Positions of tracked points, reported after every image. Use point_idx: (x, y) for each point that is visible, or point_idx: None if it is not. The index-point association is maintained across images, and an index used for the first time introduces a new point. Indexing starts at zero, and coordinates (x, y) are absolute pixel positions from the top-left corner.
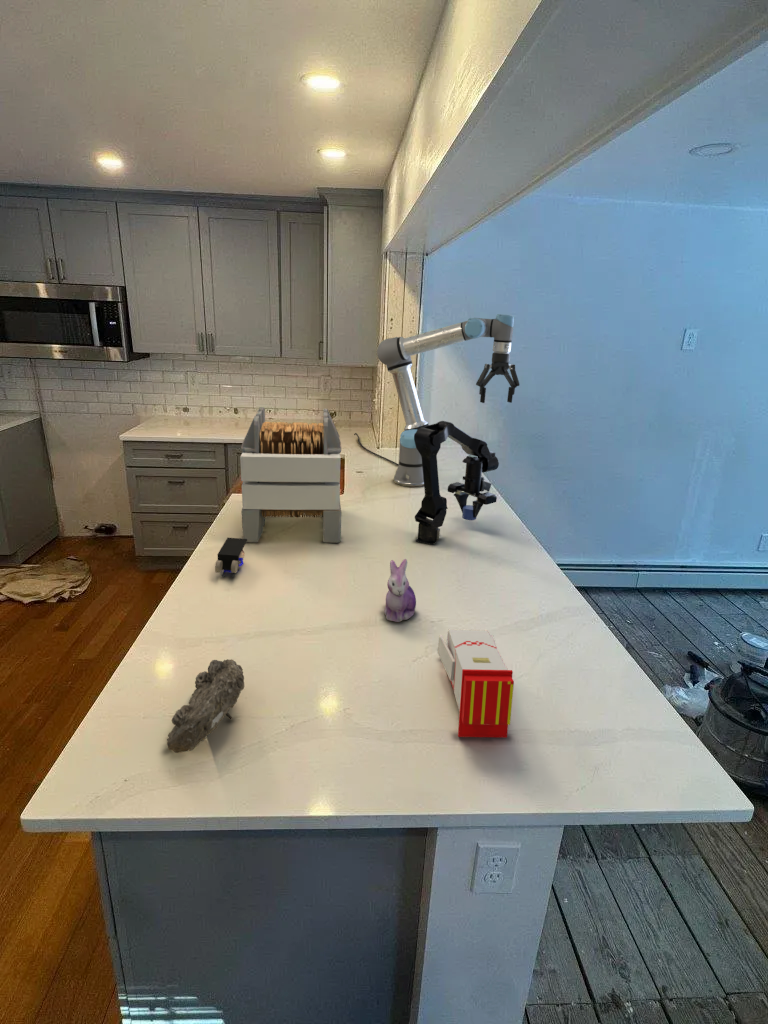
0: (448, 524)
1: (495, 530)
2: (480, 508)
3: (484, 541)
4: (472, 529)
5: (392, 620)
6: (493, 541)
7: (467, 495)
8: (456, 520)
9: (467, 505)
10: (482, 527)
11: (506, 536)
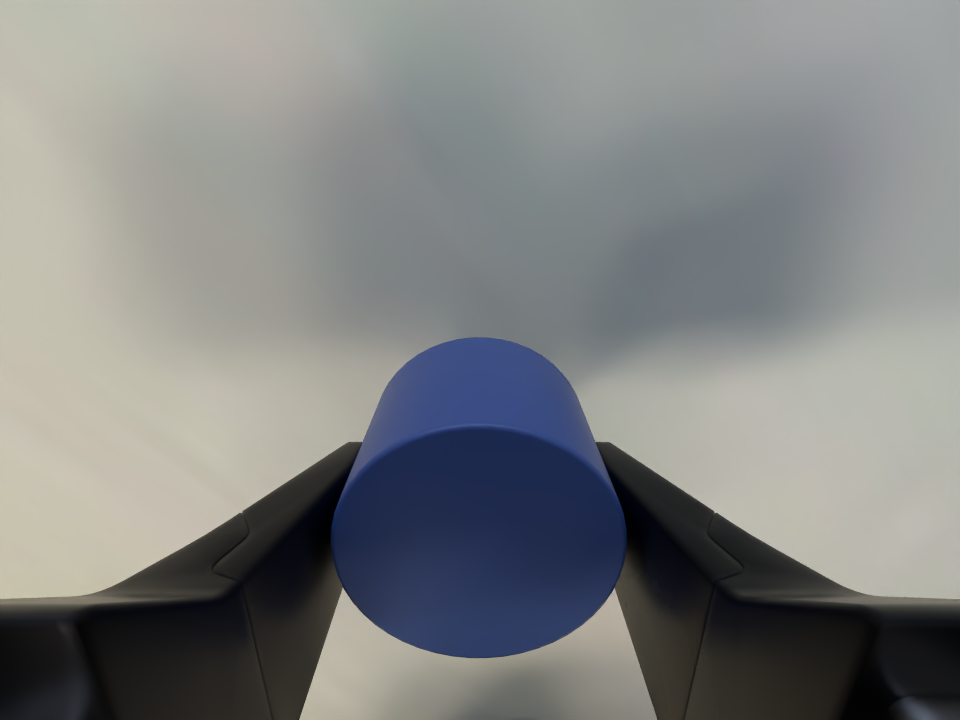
0: (284, 461)
1: (750, 148)
2: (733, 536)
3: (812, 499)
4: None
5: None
6: (885, 435)
7: (152, 669)
8: (218, 301)
9: (358, 520)
10: (572, 211)
11: (956, 199)
